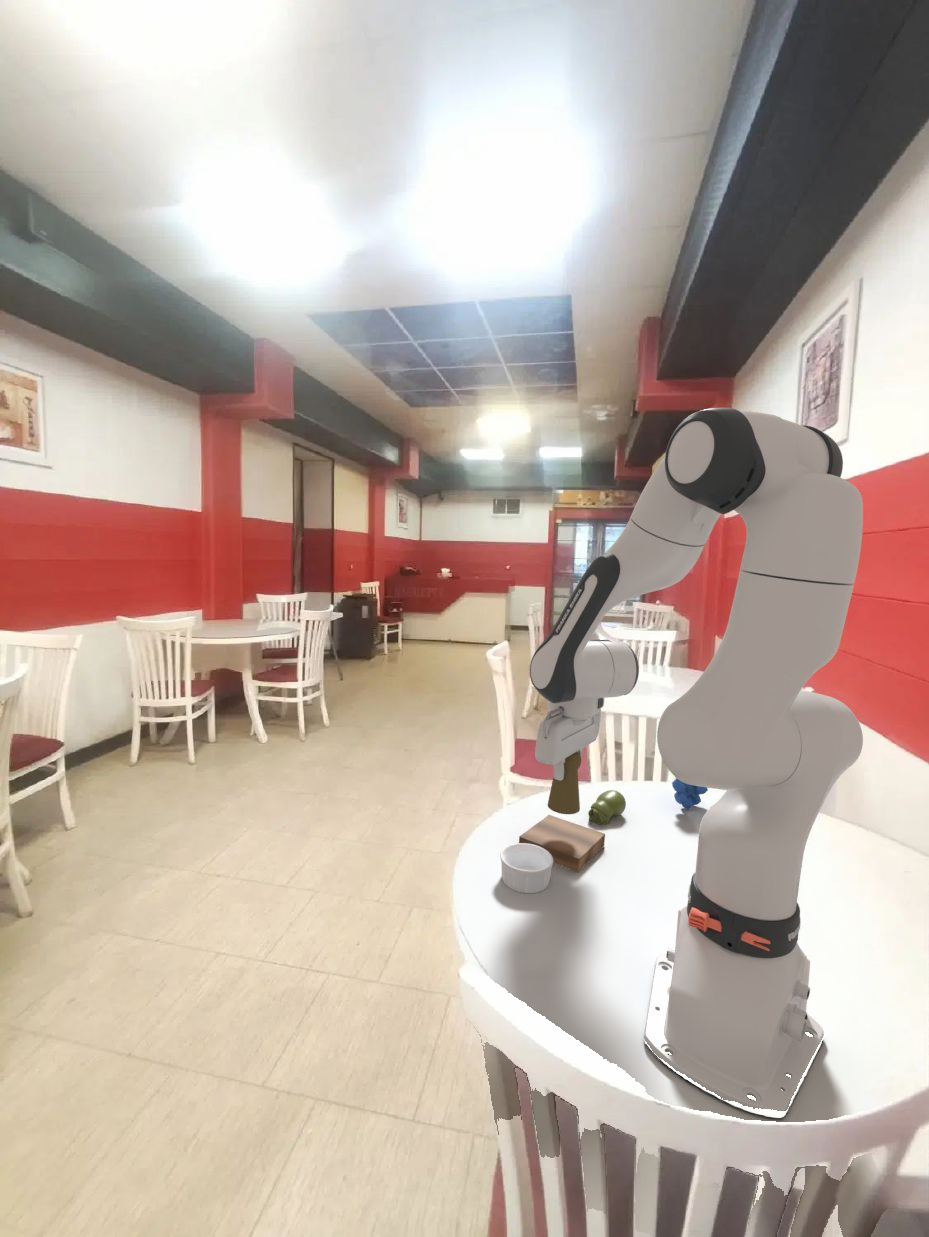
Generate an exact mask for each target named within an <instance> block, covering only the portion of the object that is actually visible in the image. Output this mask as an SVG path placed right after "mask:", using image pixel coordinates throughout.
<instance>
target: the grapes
mask: <svg viewBox="0 0 929 1237" xmlns="http://www.w3.org/2000/svg"><path fill="white" fill-rule="evenodd" d="M671 785H672V786H671V787H672V788H673V790H674V791H675V793H674V796H673V797H674V799H675V802H676V803H677V804H679V805H681V806H682V808H684V809H685V810H690V809H691V808H692V809H693V807H694V806H697V805H699V804H700V803H701V802H702V799H701V796H700V795H704V794H706V793H707V792H708V789H709V788H706V787H700V786H694V785H689V784H686V783H683V782H681V781H680V780H678V779H677V778H676V779H674V780H673V781H672V782H671Z"/></svg>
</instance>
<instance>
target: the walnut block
mask: <svg viewBox="0 0 929 1237" xmlns="http://www.w3.org/2000/svg"><path fill="white" fill-rule="evenodd" d="M518 838H519V839H518V843H527V844H533V845H537V846H539V847H542V848H544V849H545V850H547V851H548V852H549V853H550V854H551V855H552V857H553V864H555V865H558V866H560V867H563V868H565V869H568V870H571V871H573V872H575V873H579V872H580V871H581V870H582V869H583V868H584V867H585V866H586V865H587V864H589V862H591V860H592V859H593V858H594V857H595V856H597V854H598V853H599V852H600V851H601V850H602V849H603V848H604V847H605V841H606V833H605V832H602V831H598V830H595V829H592V828H589V827H586V826H583V825H580V824H577V823H574V822H571V821H569V820H565V819H563V818H560V817H557V816H554V815H551V814H548V815H547V816H545V817H544V818H542V819H541V820H540V821H538V822H537V823H535V825H533V826H531V827H530V828H529V829H528V830H526V831H524V832H523V833H522V834H520V835H519V837H518Z"/></svg>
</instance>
